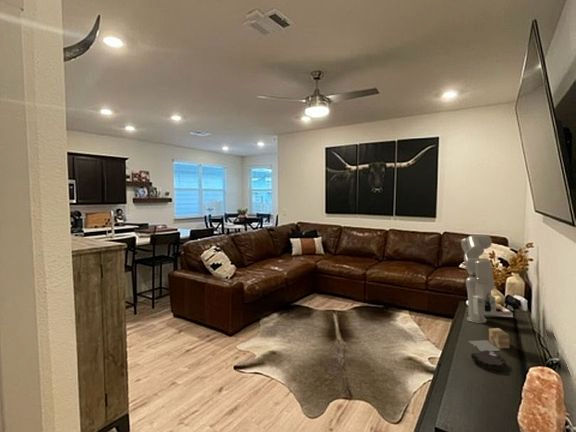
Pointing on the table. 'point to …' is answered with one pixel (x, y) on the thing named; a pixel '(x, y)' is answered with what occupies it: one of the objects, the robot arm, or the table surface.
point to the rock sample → (489, 361)
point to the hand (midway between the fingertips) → (484, 309)
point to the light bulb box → (483, 306)
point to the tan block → (499, 338)
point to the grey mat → (484, 345)
